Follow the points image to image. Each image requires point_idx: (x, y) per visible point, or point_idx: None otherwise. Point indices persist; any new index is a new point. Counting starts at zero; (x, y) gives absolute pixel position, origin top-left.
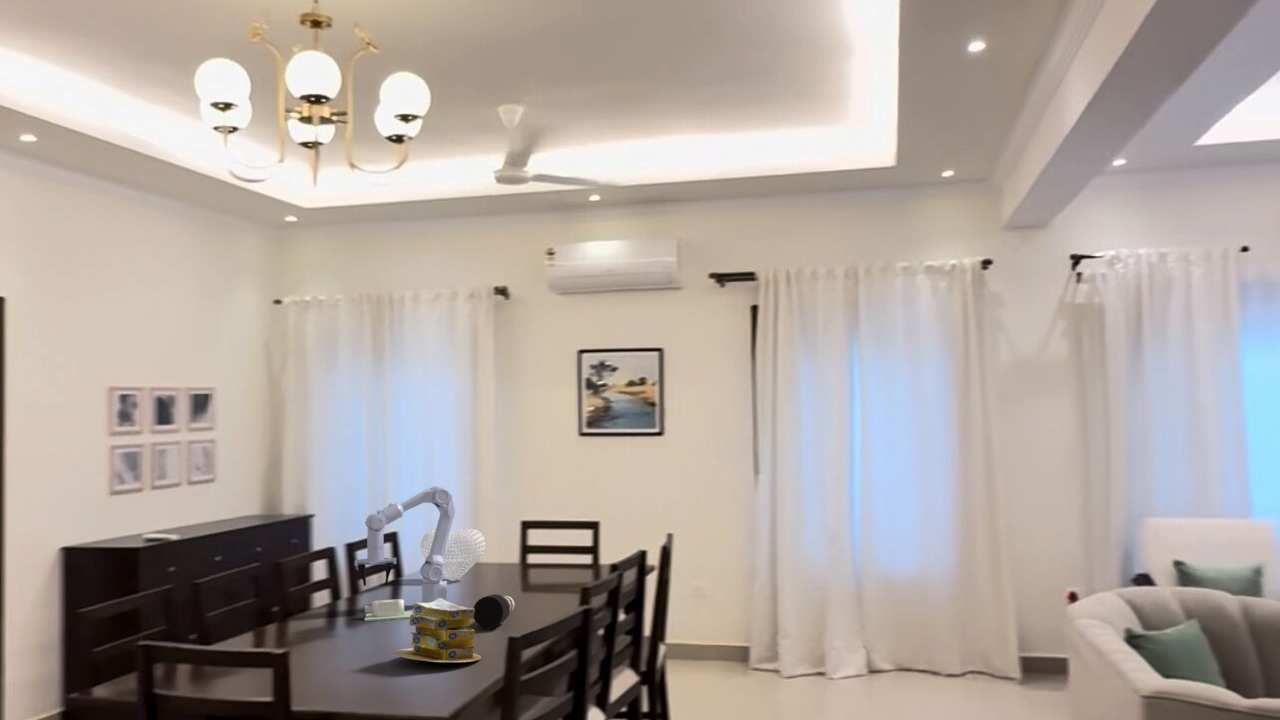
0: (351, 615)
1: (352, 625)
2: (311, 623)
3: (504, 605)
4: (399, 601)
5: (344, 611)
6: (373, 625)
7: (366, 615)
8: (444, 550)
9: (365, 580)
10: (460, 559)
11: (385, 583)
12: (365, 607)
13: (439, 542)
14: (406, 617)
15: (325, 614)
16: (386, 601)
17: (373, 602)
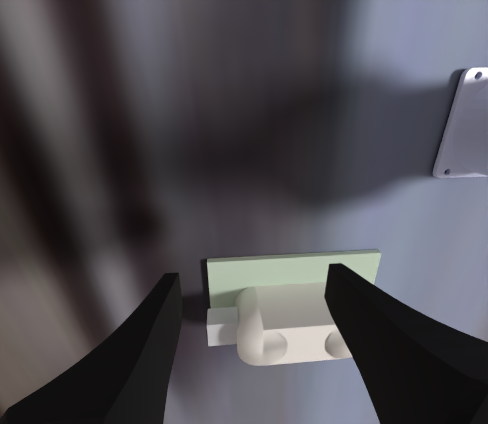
0: (143, 242)
1: (184, 375)
2: (27, 336)
3: None
4: (349, 356)
5: (79, 143)
6: (246, 382)
7: (211, 290)
8: None
9: (173, 321)
10: None
11: (327, 303)
12: (211, 345)
13: None
14: None
15: (3, 192)
16: (299, 353)
17: (244, 361)
